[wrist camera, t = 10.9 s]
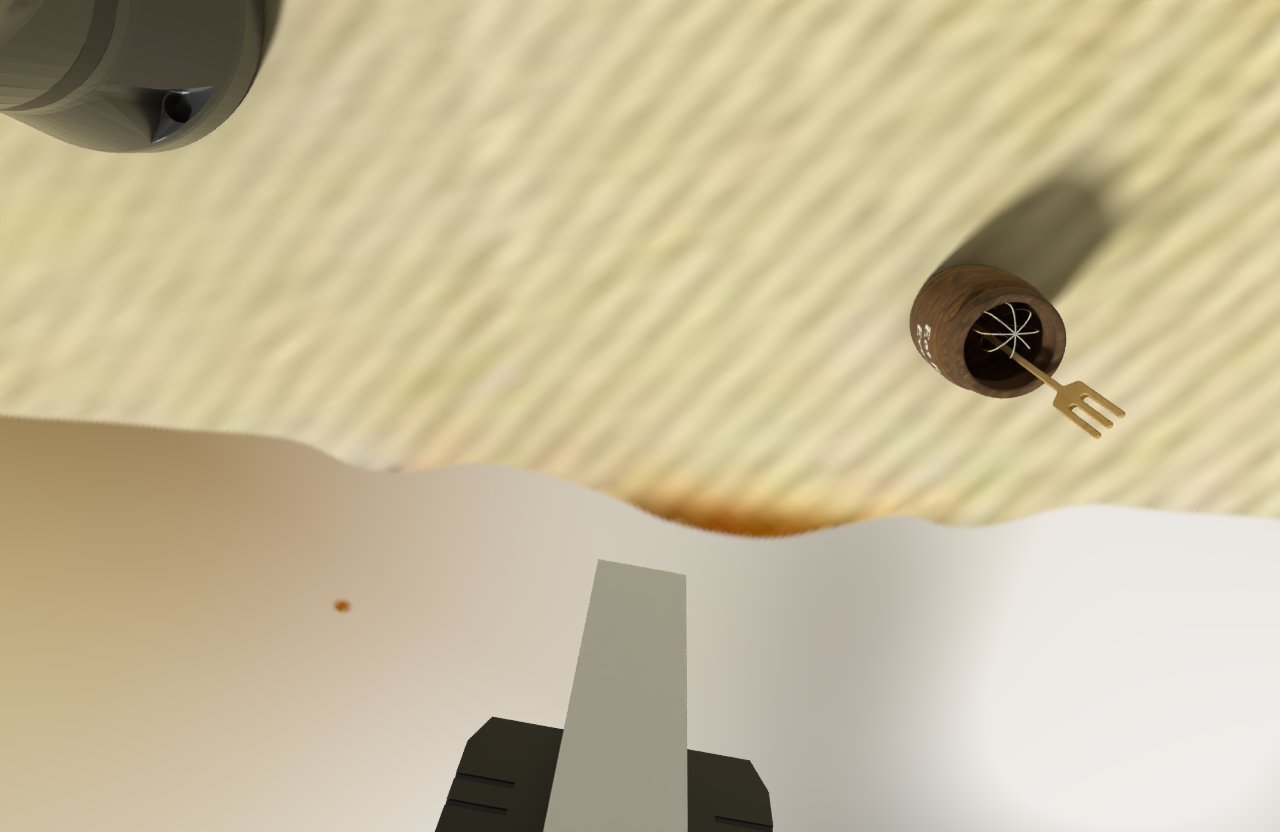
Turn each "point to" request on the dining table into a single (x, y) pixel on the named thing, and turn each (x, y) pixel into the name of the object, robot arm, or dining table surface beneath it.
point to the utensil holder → (997, 338)
